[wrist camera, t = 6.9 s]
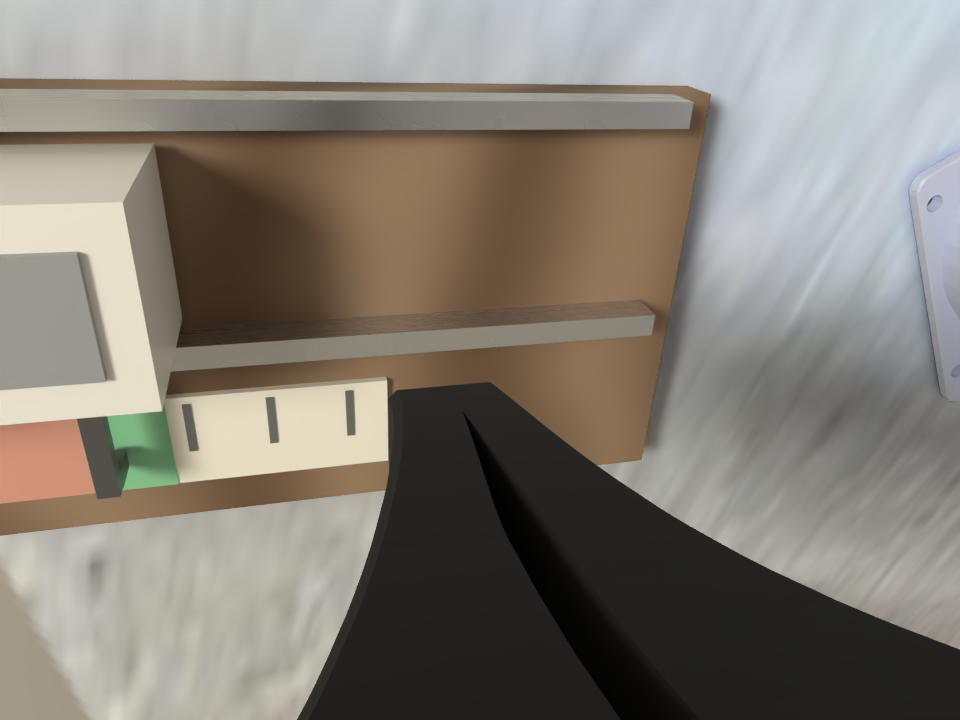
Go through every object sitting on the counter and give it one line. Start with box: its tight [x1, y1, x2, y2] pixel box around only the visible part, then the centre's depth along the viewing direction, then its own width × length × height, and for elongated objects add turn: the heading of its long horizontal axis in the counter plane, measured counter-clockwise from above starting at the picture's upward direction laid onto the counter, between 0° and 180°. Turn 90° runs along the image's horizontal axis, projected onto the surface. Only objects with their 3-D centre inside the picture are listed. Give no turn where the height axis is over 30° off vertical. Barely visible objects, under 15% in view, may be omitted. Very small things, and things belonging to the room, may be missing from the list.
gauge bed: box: [0, 79, 711, 536], centre depth 19 cm, size 22×11×1 cm, turn 88°
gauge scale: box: [0, 377, 388, 504], centre depth 19 cm, size 10×3×1 cm, turn 88°
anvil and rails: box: [0, 89, 694, 372], centre depth 15 cm, size 21×6×4 cm, turn 88°
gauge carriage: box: [0, 143, 182, 499], centre depth 15 cm, size 4×8×4 cm, turn 178°
